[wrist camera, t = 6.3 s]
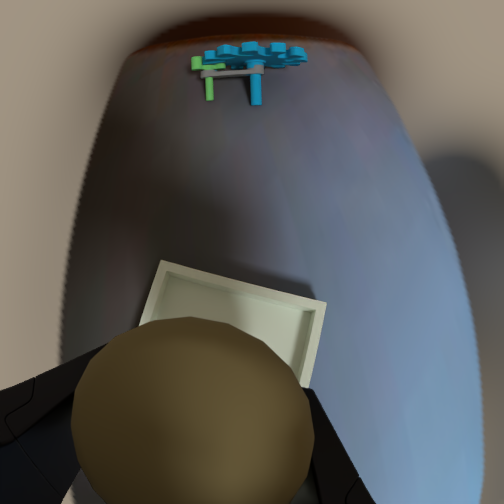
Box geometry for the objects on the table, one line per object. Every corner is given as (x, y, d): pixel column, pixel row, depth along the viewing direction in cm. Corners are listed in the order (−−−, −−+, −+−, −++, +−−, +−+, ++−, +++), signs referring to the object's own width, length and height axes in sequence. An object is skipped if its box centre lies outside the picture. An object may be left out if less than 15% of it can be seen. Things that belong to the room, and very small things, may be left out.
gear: (303, 57, 29) (311, 34, 20) (305, 107, 31) (314, 101, 22) (204, 61, 30) (176, 42, 21) (206, 110, 33) (178, 107, 23)
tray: (270, 497, 16) (272, 507, 14) (114, 452, 16) (104, 458, 15) (319, 308, 21) (326, 302, 19) (166, 268, 22) (160, 259, 20)
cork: (137, 379, 14) (-13, 375, 4) (232, 317, 16) (220, 214, 6) (205, 472, 13) (156, 606, 3) (302, 409, 14) (415, 467, 4)
